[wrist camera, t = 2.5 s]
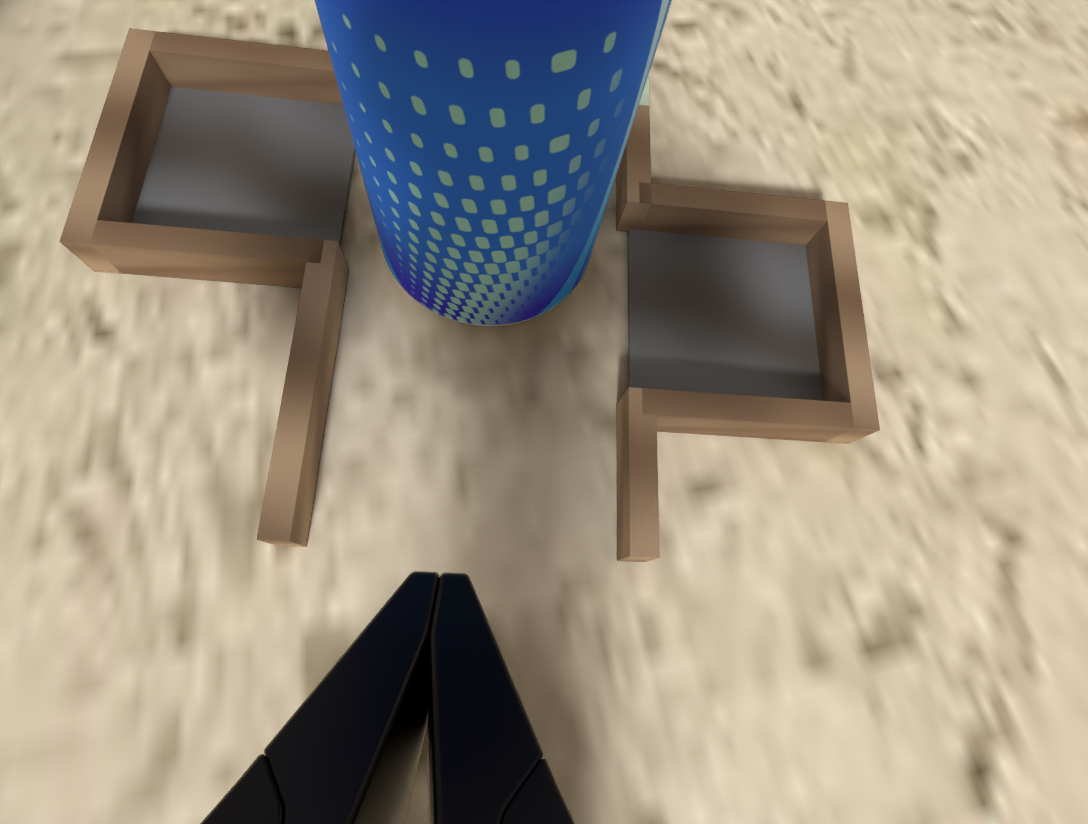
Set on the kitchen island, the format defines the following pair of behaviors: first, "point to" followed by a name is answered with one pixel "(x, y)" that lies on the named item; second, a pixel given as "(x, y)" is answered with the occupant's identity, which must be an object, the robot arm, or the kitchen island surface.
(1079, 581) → the kitchen island surface
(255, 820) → the robot arm
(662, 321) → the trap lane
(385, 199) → the beer can
